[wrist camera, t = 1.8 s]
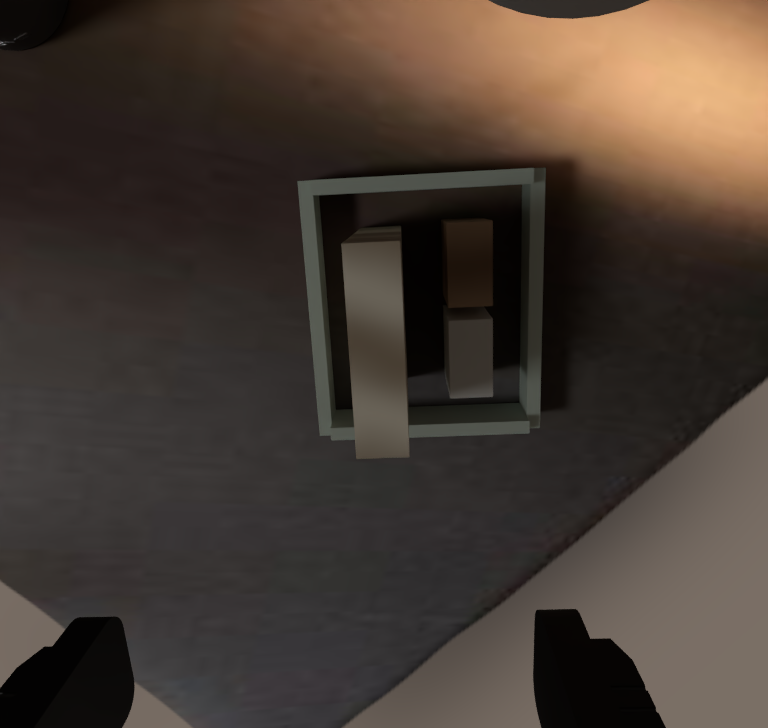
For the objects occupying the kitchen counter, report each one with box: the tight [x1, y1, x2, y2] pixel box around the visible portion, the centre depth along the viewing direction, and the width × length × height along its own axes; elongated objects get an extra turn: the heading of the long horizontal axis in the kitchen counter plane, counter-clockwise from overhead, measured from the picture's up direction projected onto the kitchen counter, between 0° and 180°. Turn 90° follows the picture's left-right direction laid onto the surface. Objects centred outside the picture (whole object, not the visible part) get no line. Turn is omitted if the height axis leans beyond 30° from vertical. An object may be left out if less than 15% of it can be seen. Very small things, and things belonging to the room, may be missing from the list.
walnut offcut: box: [441, 217, 493, 308], centre depth 42 cm, size 6×3×6 cm, turn 3°
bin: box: [298, 168, 546, 440], centre depth 44 cm, size 19×17×4 cm
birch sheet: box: [341, 226, 409, 459], centre depth 39 cm, size 12×3×15 cm, turn 3°
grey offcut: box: [443, 305, 493, 398], centre depth 44 cm, size 6×3×6 cm, turn 3°
